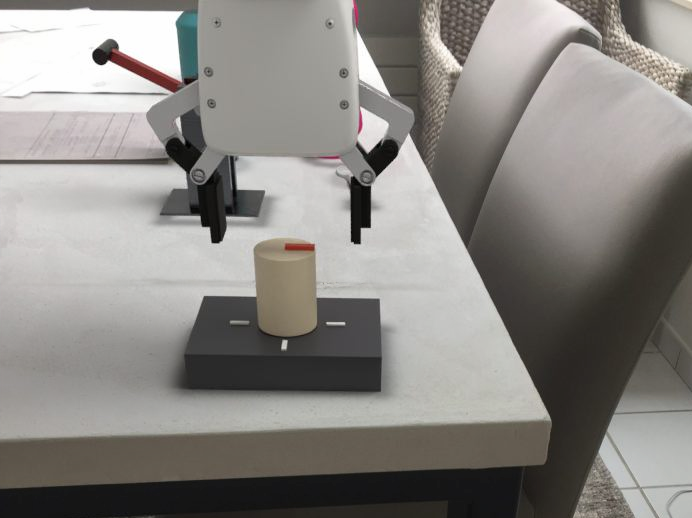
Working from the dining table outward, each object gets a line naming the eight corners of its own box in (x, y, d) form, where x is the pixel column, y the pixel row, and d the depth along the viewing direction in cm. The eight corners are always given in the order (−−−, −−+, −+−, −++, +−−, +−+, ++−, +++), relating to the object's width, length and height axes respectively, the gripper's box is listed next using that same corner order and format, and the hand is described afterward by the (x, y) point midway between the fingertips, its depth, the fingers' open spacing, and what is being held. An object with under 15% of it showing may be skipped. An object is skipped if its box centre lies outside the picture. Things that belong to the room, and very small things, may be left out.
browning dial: (255, 336, 65) (250, 255, 62) (261, 310, 69) (256, 232, 65) (315, 337, 65) (314, 256, 62) (318, 311, 69) (316, 234, 65)
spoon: (359, 175, 106) (359, 157, 105) (374, 216, 97) (375, 198, 96) (334, 175, 105) (334, 158, 104) (347, 217, 97) (347, 199, 95)
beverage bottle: (178, 171, 106) (156, -25, 94) (204, 156, 111) (187, -31, 99) (228, 178, 104) (212, -20, 92) (252, 162, 109) (241, -27, 97)
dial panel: (188, 391, 65) (183, 352, 63) (207, 330, 73) (203, 293, 71) (380, 393, 65) (382, 354, 63) (378, 332, 73) (379, 296, 71)
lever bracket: (161, 224, 91) (143, 89, 84) (174, 199, 98) (159, 71, 90) (259, 226, 92) (251, 92, 84) (265, 201, 98) (258, 73, 90)
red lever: (88, 66, 84) (95, 40, 82) (101, 55, 88) (107, 30, 86) (211, 126, 87) (219, 102, 86) (217, 113, 91) (226, 90, 90)
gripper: (416, -53, 56) (408, 220, 66) (138, -57, 55) (173, 218, 66) (422, -40, 50) (412, 258, 60) (110, -44, 49) (154, 256, 60)
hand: (287, 237), depth 63 cm, fingers open, 9 cm apart
